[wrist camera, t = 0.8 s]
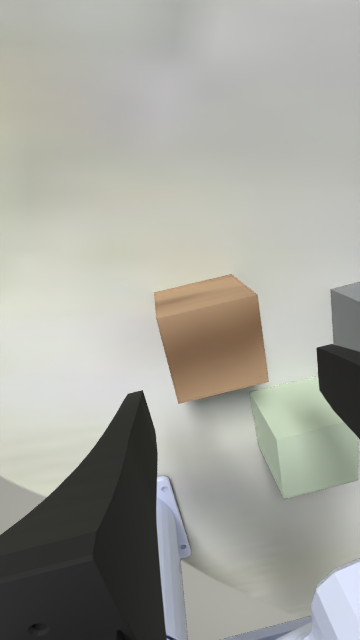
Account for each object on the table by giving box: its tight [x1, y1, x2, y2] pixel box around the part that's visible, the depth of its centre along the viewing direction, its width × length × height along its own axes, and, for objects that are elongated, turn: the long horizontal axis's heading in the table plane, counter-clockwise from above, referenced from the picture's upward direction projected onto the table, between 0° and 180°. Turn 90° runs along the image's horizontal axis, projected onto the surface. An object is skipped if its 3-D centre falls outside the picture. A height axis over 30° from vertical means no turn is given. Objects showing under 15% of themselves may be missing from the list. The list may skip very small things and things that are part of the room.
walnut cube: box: [154, 274, 269, 404], centre depth 18 cm, size 5×5×5 cm
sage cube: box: [250, 376, 358, 499], centre depth 21 cm, size 5×5×5 cm
